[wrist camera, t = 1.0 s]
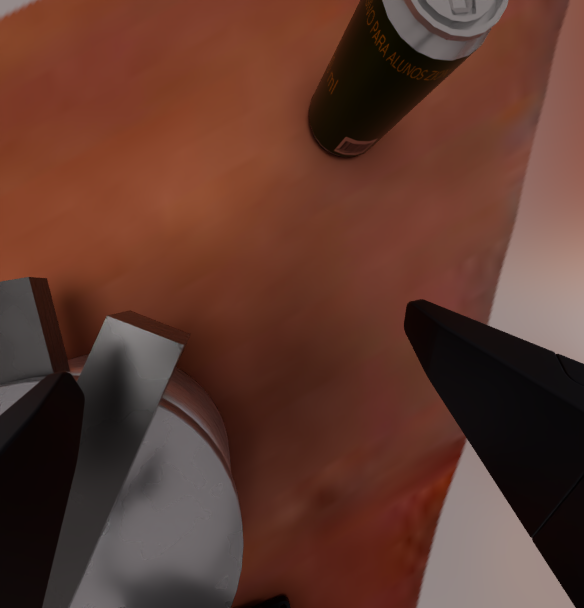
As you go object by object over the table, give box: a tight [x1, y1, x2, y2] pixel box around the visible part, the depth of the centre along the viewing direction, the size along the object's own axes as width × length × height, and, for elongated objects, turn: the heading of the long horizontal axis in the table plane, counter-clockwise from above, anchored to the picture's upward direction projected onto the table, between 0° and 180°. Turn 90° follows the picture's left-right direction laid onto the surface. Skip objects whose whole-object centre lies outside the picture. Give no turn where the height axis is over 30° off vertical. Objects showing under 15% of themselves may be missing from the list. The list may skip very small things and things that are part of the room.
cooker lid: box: [0, 311, 243, 608], centre depth 13 cm, size 19×16×4 cm
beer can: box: [309, 0, 508, 157], centre depth 19 cm, size 5×5×12 cm
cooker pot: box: [0, 277, 231, 471], centre depth 18 cm, size 20×15×7 cm
